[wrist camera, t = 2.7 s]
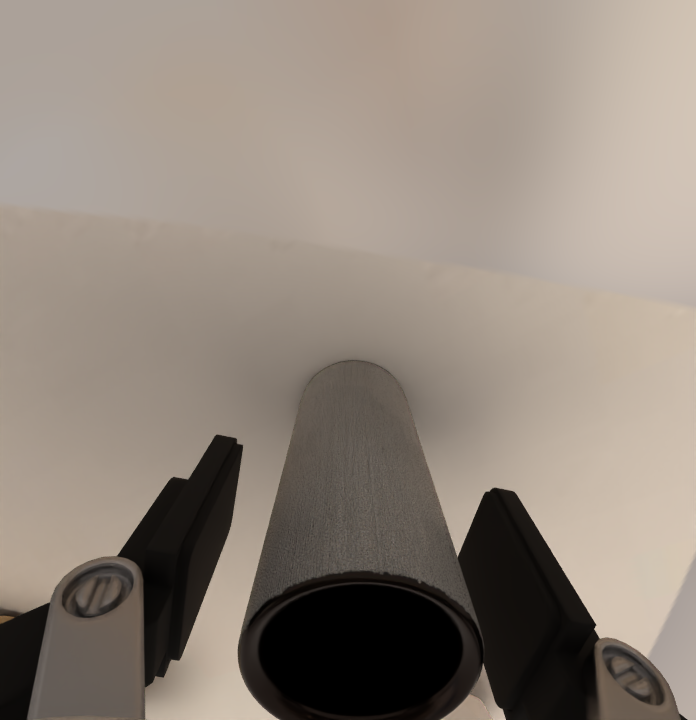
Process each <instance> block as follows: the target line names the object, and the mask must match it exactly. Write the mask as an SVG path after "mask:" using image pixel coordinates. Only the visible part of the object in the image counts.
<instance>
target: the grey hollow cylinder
mask: <svg viewBox="0 0 696 720" xmlns="http://www.w3.org/2000/svg"><path fill="white" fill-rule="evenodd" d="M483 661H484V643H483V638H482V634H481V630H480V627H479V623H478V620H477V617H476V614H475V611H474V608H473V605H472V601H471V598H470V595H469V592H468V589H467V586H466V583H465V580H464V577H463V574H462V570H461V567H460V564H459V561H458V558H457V555H456V552H455V549H454V546H453V543H452V539H451V536H450V533H449V530H448V527H447V524H446V521H445V518H444V515H443V512H442V508H441V505H440V502H439V499H438V496H437V493H436V490H435V487H434V484H433V481H432V477H431V474H430V471H429V468H428V465H427V462H426V459H425V456H424V453H423V450H422V446H421V443H420V440H419V437H418V434H417V431H416V428H415V425H414V422H413V419H412V416H411V412H410V409H409V406H408V403H407V400H406V397H405V395H404V393H403V391H402V389H401V387H400V385H399V383H398V382H397V381H396V379H395V378H394V377H393V376H392V375H391V374H390V373H388V372H387V371H386V370H384V369H383V368H381V367H379V366H377V365H374V364H371V363H368V362H363V361H344V362H340V363H336V364H333V365H331V366H329V367H327V368H325V369H323V370H322V371H321V372H319V373H318V374H317V375H316V376H315V377H314V378H313V379H312V380H311V381H310V383H309V384H308V386H307V387H306V389H305V392H304V394H303V397H302V399H301V402H300V406H299V410H298V414H297V418H296V422H295V425H294V429H293V433H292V437H291V441H290V445H289V449H288V452H287V456H286V460H285V464H284V468H283V472H282V476H281V479H280V483H279V487H278V491H277V495H276V499H275V502H274V506H273V510H272V514H271V518H270V522H269V526H268V529H267V533H266V537H265V541H264V545H263V549H262V552H261V556H260V560H259V564H258V568H257V572H256V576H255V579H254V583H253V587H252V591H251V595H250V599H249V603H248V606H247V610H246V614H245V618H244V622H243V626H242V630H241V634H240V639H239V644H238V663H239V668H240V672H241V675H242V678H243V680H244V682H245V684H246V686H247V688H248V690H249V691H250V693H251V694H252V695H253V697H254V698H255V699H256V700H257V702H258V703H259V704H260V705H261V706H262V707H263V708H264V709H266V710H267V711H268V712H269V713H271V714H272V715H273V716H275V717H276V718H278V719H279V720H441V719H443V718H444V717H446V716H447V715H448V714H450V713H451V712H453V711H454V710H455V709H456V708H457V707H458V706H459V705H460V704H461V703H462V702H463V701H464V700H465V699H466V698H467V697H468V695H469V694H470V693H471V691H472V690H473V688H474V686H475V685H476V683H477V681H478V678H479V676H480V673H481V670H482V666H483Z"/></svg>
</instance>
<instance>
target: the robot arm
mask: <svg viewBox="0 0 696 720" xmlns="http://www.w3.org/2000/svg"><path fill="white" fill-rule="evenodd" d="M242 451H243V445H240V444H237V439H236V438H232V437H227V436H222V435H216V436H215V437H214V439H213V440H212V442H211V444H210V445H209V447H208V449H207V450H206V452H205V453H204V455H203V457H202V458H201V460H200V462H199V463H198V465H197V466H196V468H195V470H194V471H193V473H192V475H191V476H190V478H189V479H188V480H187V479H182V478H176V477H173V478H171V479H170V480H169V481H168V483H167V484H166V486H165V487H164V489H163V490H162V491H161V493H160V494H159V496H158V497H157V499H156V500H155V502H154V503H153V505H152V506H151V507H150V509H149V510H148V512H147V513H146V515H145V516H144V518H143V519H142V521H141V522H140V523H139V525H138V526H137V528H136V529H135V531H134V532H133V534H132V535H131V537H130V538H129V540H128V541H127V542H126V544H125V545H124V547H123V548H122V550H121V551H120V553H119V554H118V556H111V557H101V558H98V559H94V560H91V561H88V562H86V563H84V564H82V565H80V566H78V567H76V568H75V569H73V570H72V571H71V572H70V573H68V574H67V575H66V576H64V578H63V579H62V580H61V581H60V583H59V584H58V585H57V586H56V588H55V590H54V593H53V595H52V598H51V602H50V603H47V604H45V605H43V606H40V607H38V608H36V609H33V610H31V611H29V612H27V613H24V614H22V615H20V616H17V617H15V618H13V619H11V620H8V621H6V622H4V623H1V624H0V720H145V687H147V686H148V685H150V684H151V683H153V681H154V678H155V676H157V677H164V676H165V673H166V671H167V668H168V666H169V663H170V661H171V660H178V661H179V660H180V658H181V656H182V654H183V651H184V649H185V646H186V644H187V641H188V638H189V636H190V633H191V630H192V628H193V625H194V623H195V620H196V617H197V615H198V612H199V609H200V607H201V604H202V602H203V599H204V596H205V594H206V591H207V589H208V586H209V583H210V581H211V578H212V575H213V573H214V570H215V568H216V565H217V562H218V560H219V557H220V554H221V552H222V549H223V547H224V544H225V541H226V539H227V536H228V533H229V530H230V527H231V523H232V517H233V510H234V504H235V497H236V490H237V484H238V477H239V471H240V464H241V458H242ZM458 561H459V564H460V567H461V570H462V574H463V577H464V580H465V583H466V586H467V589H468V592H469V595H470V598H471V601H472V605H473V608H474V611H475V614H476V617H477V620H478V623H479V627H480V630H481V634H482V638H483V643H484V661H483V663H484V666H485V670H486V673H487V676H488V680H489V683H490V686H491V689H492V693H493V696H494V699H495V702H496V704H497V706H498V707H499V708H502V709H503V711H504V715H505V718H506V720H687V719H686V718H684V717H683V716H682V715H681V714H679V712H678V709H677V705H676V702H675V698H674V696H673V693H672V691H671V689H670V686H669V684H668V683H667V681H666V680H665V678H664V677H663V675H662V674H661V673H660V671H659V670H658V669H657V668H656V667H655V666H654V665H653V664H652V663H651V662H650V661H649V660H648V659H647V658H646V657H645V656H643V655H642V654H641V653H640V652H639V651H637V650H636V649H634V648H632V647H631V646H629V645H628V644H626V643H624V642H621V641H619V640H617V639H612V638H602V639H600V638H599V637H598V635H597V633H596V632H595V630H594V628H595V626H596V624H595V622H594V621H593V619H592V617H591V616H590V614H589V612H588V611H587V609H586V607H585V606H584V604H583V603H582V601H581V599H580V598H579V596H578V594H577V593H576V591H575V589H574V588H573V586H572V585H571V583H570V581H569V580H568V578H567V576H566V575H565V573H564V571H563V570H562V568H561V566H560V565H559V563H558V562H557V560H556V558H555V557H554V555H553V553H552V552H551V550H550V548H549V547H548V545H547V544H546V542H545V540H544V539H543V537H542V535H541V534H540V532H539V530H538V529H537V527H536V526H535V524H534V522H533V521H532V519H531V517H530V516H529V514H528V512H527V511H526V509H525V508H524V506H523V504H522V503H521V501H520V499H519V498H518V496H517V494H516V493H515V492H513V491H509V490H504V489H499V488H492V489H491V490H490V492H485V494H484V495H483V498H482V500H481V502H480V505H479V507H478V510H477V512H476V514H475V517H474V519H473V522H472V524H471V527H470V529H469V531H468V534H467V536H466V539H465V541H464V543H463V546H462V548H461V551H460V553H459V555H458Z"/></svg>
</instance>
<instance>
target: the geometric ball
mask: <svg viewBox="0 0 696 720" xmlns="http://www.w3.org/2000/svg"><path fill="white" fill-rule="evenodd" d="M441 720H493V719H492V717H491V715H490V714H489V712H488V711H487V709H486V707H485V706H484V704H483V702H482V701H481V699H479V698H477V697H475V696H473V695H470V694H469V695H468V697H467V698H466V699H465V700H464V701H463V702H462V703H461V704H460V705H459V706H458V707H457V708H456V709H455V710H454V711H453V712H451V713H450V714H448V715H447V716H446V717H444V718H443V719H441Z"/></svg>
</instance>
